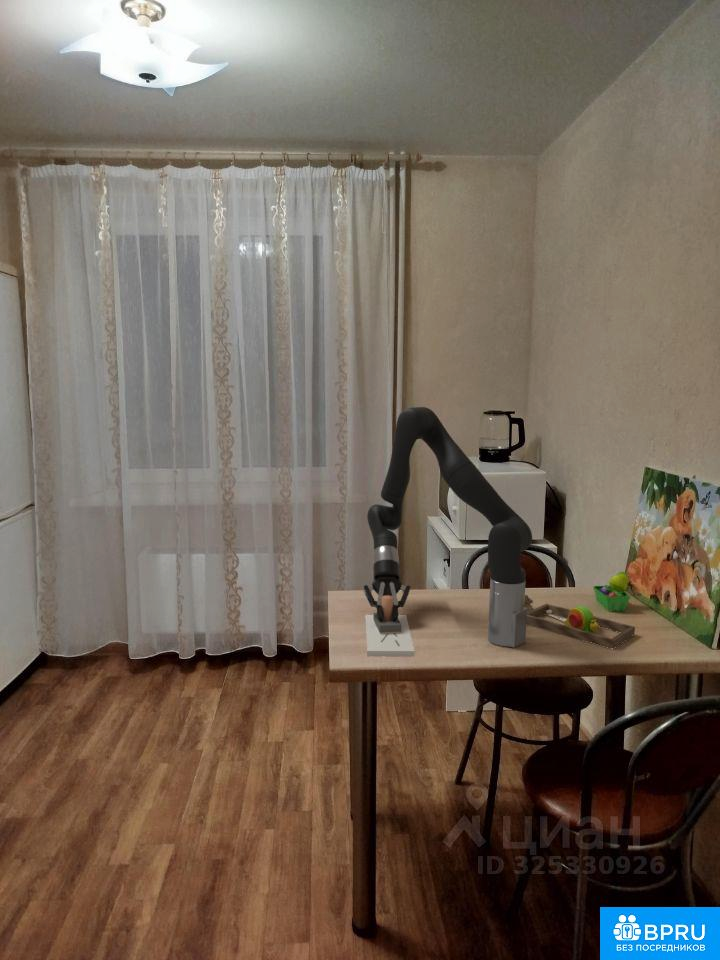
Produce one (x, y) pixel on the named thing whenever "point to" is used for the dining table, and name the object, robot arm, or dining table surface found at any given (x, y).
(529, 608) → the wooden fragment
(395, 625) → the sanding block
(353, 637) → the dining table surface
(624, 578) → the fruit basket
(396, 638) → the marked board
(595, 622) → the toy snail
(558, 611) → the wooden tray
